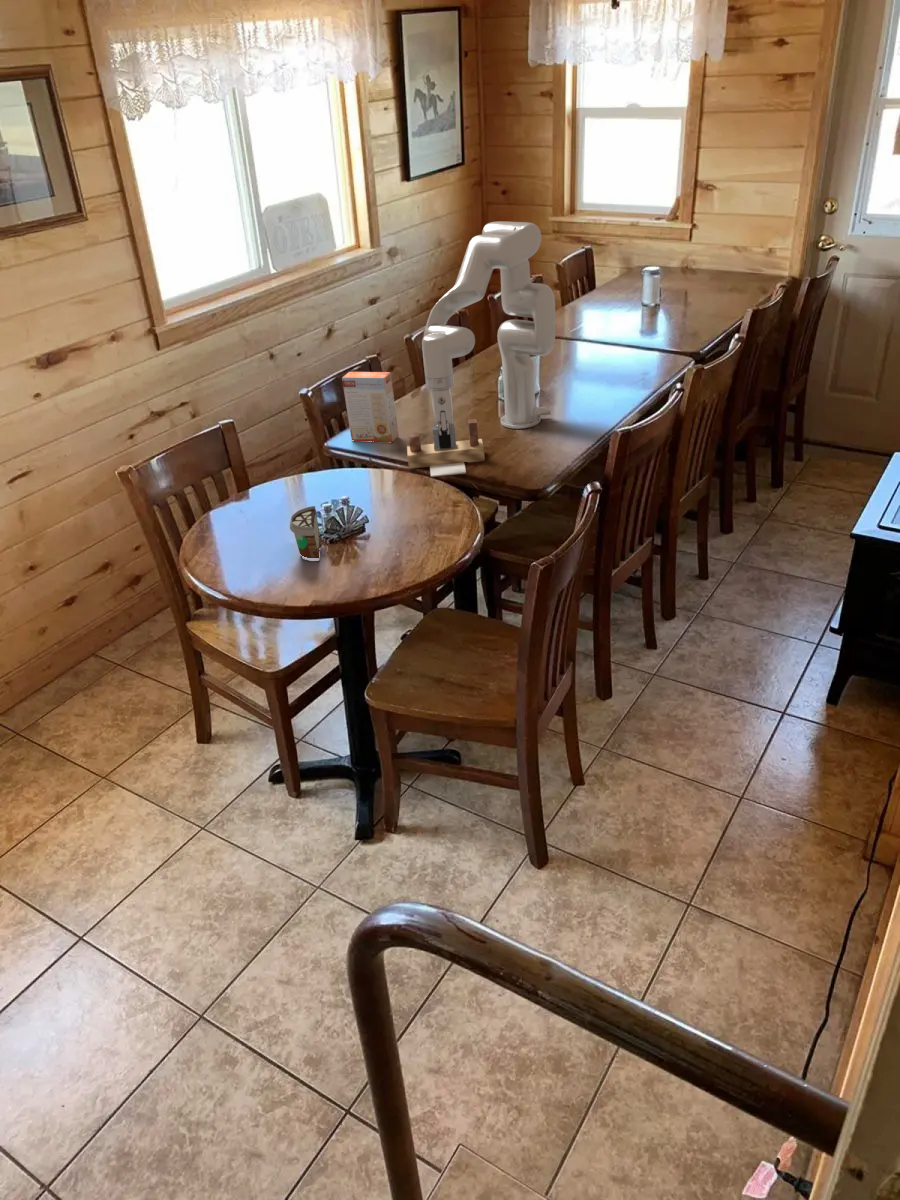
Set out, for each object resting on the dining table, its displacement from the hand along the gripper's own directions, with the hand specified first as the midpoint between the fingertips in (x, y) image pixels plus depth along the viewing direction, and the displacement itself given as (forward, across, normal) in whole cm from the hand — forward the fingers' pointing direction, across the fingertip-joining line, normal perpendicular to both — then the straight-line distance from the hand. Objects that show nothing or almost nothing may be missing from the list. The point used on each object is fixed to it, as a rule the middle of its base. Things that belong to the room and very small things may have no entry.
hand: (444, 443), depth 251 cm
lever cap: (0, 0, 0) cm, 0 cm away
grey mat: (+8, 0, 0) cm, 8 cm away
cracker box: (+8, +30, +21) cm, 37 cm away
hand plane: (+8, +8, 0) cm, 11 cm away
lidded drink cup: (+9, -41, +37) cm, 56 cm away
